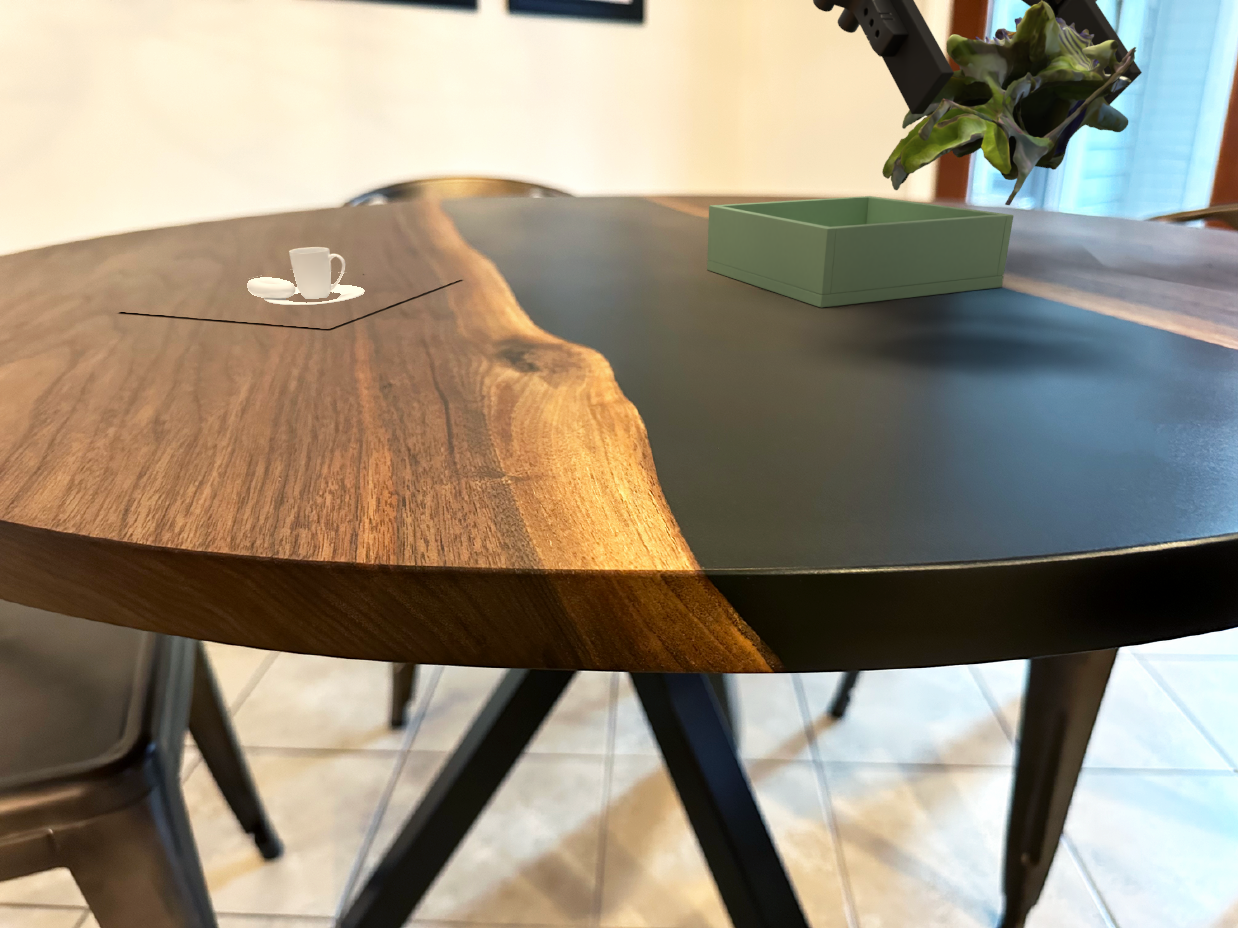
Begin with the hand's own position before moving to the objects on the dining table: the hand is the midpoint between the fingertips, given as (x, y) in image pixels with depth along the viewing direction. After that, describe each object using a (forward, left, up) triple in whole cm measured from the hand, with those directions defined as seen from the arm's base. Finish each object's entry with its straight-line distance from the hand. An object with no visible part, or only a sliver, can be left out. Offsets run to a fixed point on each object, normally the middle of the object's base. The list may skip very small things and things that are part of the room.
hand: (1030, 93), depth 46 cm
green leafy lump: (0, -1, -5) cm, 6 cm away
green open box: (-8, -25, -15) cm, 31 cm away
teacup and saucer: (+38, -39, -15) cm, 57 cm away
